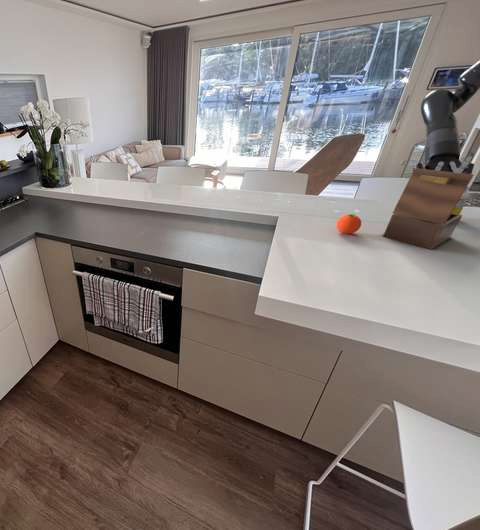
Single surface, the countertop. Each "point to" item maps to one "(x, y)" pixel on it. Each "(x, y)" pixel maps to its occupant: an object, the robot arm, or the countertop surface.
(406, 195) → the lid
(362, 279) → the countertop surface
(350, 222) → the clementine
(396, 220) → the chest
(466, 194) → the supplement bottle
